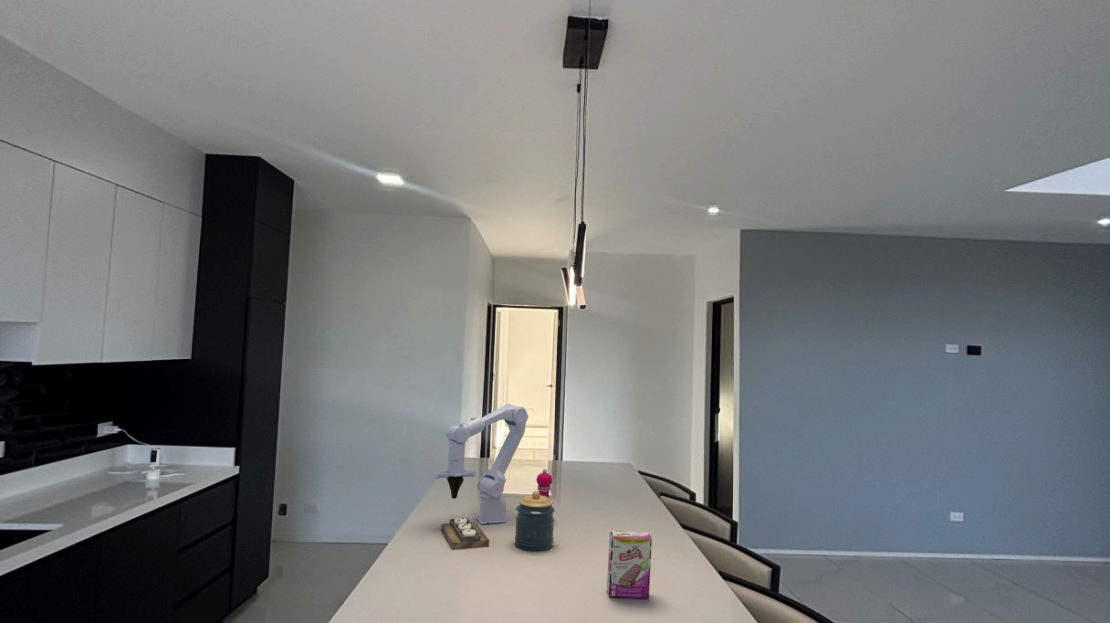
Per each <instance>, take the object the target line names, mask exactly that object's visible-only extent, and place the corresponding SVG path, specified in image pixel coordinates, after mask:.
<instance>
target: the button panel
mask: <svg viewBox="0 0 1110 623" xmlns="http://www.w3.org/2000/svg"><path fill="white" fill-rule="evenodd" d="M465 518H466V519H467V523H468V524H471V529H472V530H475V531H476V536H465V537H463V536H462V531H463V530H458V525H459V524H454V519H455V518H449V522H447V523H441V526H440V530H441V532H442V534H443V535H444V537H445V539H446V541H447V543H448V544H449V546H450V548H451V550H463V549H473V548H474V549H475V548H485V546H487V547H489V546H490V539H489V538H488V537H487V535H486V534H485V532H483V530H482V529H481V527H480V526H479V525H478V524H477V522H476V521H470V519H469V518H468V517H465Z"/></svg>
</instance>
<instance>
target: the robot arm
mask: <svg viewBox="0 0 1110 623" xmlns="http://www.w3.org/2000/svg"><path fill="white" fill-rule="evenodd" d="M528 419H529V414H528V412H527V410H526V408H525V407H524V406H517V405H513V404H510V403H508V404H505V405H502V406H499V408H497V409H495V410H494V411H492V412H490V413H488V414H486V415H484V416H483V417H481V418H480V417H478V416H471V417H470V419H469V420H467V421H465V422H460V423H459V424H458V425H452V426H450V427H449V429H448V430H447V433H446V434H445V435H446V438H447V440H448V457H447V470H445V471H444V470H443V471H437V472H436V471H435V472H434V478H435V479H436V480H437V479H446V481H447V483H448V485H449V489H450V494H451V495H450V496H451V499H454V500H455V499H457V497H458V494H459V491H460V489H461V486H462V485H463V482H464V479H465V478H476V472H477V471H476V470H464V469H465V468H464V467H465V453H466V452H465V451H466V450H465V449H466V442H467V441H468V440H469V438H472V437H473V436H475V435H478V434H479V433H482V432H483V431H484V429H485V427H487V426H490V425H491V424H494V423H497V422H498V421H501V420H503V421H504V422H505V424H506V425H507V427H508V430H509V432H508V434H507V435H506V438H505V439H504V442H503V444H502V446H501V448H500V449H499V452H498V454H497V456H496V458H495V460H494V461H493V463H492V466H491V468H489V469H488V470H486V471H485V472H484V474H483V475H482V477H480V478H479V479H478V481H477V485H476V486H477V490H478V491H479V492H480V493H479V495H480V499H479V502H480V503H479V515H478V516H476V517H475V518H476V519H477V521H478V522H479V523H480V524H481V525H486V524H487V523H489V524H502V523H506V522H507V521H506V512H507V510H506V509H507V501H506V500H507V499H506V497H505V496H504V495H503V493H504V490H505V483H506V482H507V480H506V476H505V474H506V471H507V469H508V467H509V466H510V463H511V462H512V460H513V457H514V455H515V453H516V451H517V449H518V446H519V445H520V442H521V441H522V439H523V437H524V435H525V431H526V424H527V421H528ZM501 522H502V523H501Z"/></svg>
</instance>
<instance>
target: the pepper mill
mask: <svg viewBox="0 0 1110 623" xmlns="http://www.w3.org/2000/svg"><path fill="white" fill-rule="evenodd" d="M536 483H537V490H538V492H539V493H540V495H542V496H546V497H548V498H549V499H550V491H551V488H552V487H551V485H552V483H553V476H552V475H551V474H550V473H548V470H547V468H543V469H542V472H541V473H539V474H538V475H537V477H536ZM552 505H553V504H552ZM552 505H551V506H552ZM552 507H553V506H552Z"/></svg>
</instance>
